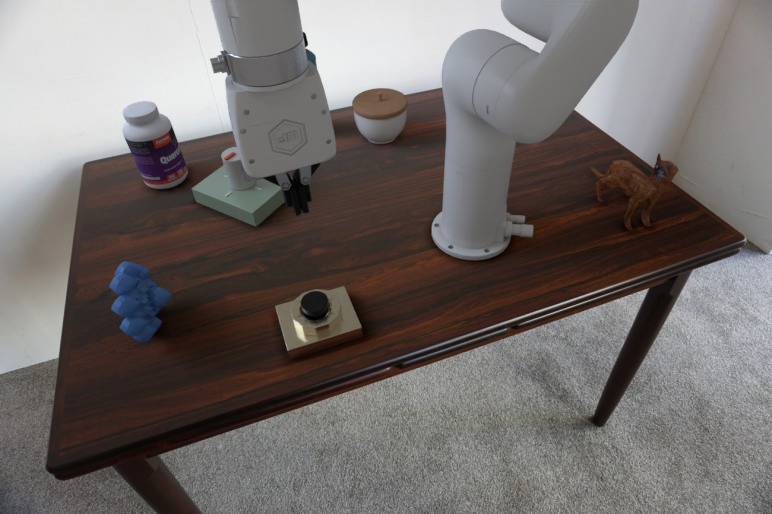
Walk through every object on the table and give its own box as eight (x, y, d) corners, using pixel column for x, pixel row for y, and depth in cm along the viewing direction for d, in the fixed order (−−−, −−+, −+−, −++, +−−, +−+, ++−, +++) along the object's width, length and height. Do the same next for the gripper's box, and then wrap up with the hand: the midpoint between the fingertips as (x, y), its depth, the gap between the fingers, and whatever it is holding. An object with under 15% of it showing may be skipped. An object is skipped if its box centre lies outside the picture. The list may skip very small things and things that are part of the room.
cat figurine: (573, 176, 94) (591, 106, 84) (606, 170, 95) (628, 100, 85) (628, 241, 81) (657, 168, 72) (666, 234, 82) (700, 161, 73)
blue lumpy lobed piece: (184, 356, 69) (152, 296, 60) (131, 368, 68) (91, 309, 59) (186, 292, 77) (158, 232, 69) (138, 302, 76) (104, 242, 68)
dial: (241, 172, 93) (233, 142, 89) (260, 179, 91) (253, 148, 87) (224, 186, 90) (215, 155, 86) (243, 193, 89) (235, 162, 84)
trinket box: (408, 149, 102) (408, 106, 95) (353, 151, 102) (349, 107, 96) (407, 121, 109) (407, 79, 103) (356, 123, 110) (353, 80, 103)
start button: (325, 296, 71) (323, 287, 70) (332, 315, 68) (331, 306, 67) (299, 303, 70) (297, 295, 69) (306, 323, 68) (304, 315, 66)
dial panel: (296, 191, 94) (293, 177, 91) (256, 227, 87) (252, 212, 85) (238, 170, 99) (234, 156, 97) (196, 202, 92) (190, 187, 90)
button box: (345, 295, 75) (343, 276, 73) (363, 337, 70) (360, 318, 67) (277, 315, 73) (272, 297, 70) (290, 360, 68) (284, 342, 65)
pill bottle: (176, 194, 94) (148, 123, 84) (137, 189, 96) (104, 119, 86) (197, 168, 100) (172, 98, 90) (159, 164, 101) (130, 95, 91)
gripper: (193, 94, 46) (244, 245, 59) (353, 58, 49) (368, 208, 62) (183, 60, 51) (232, 206, 64) (330, 30, 54) (348, 174, 67)
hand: (299, 207), depth 63 cm, fingers closed
